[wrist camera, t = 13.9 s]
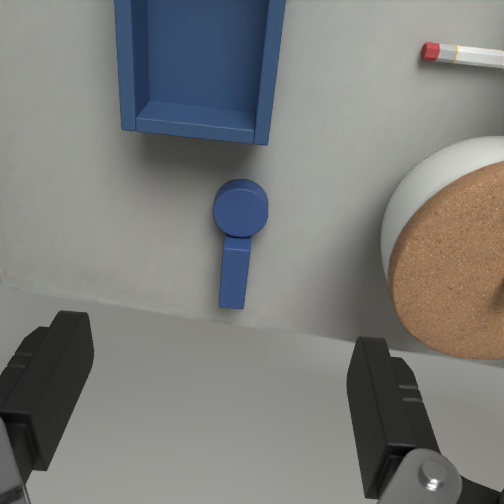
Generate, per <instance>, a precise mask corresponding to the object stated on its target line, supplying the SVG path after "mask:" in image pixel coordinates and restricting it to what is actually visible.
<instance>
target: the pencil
mask: <svg viewBox="0 0 504 504" xmlns="http://www.w3.org/2000/svg"><path fill="white" fill-rule="evenodd" d="M421 59H422V60H428V61H438V62H447V63H456V64H465V65H474V66H484V67H493V68H502V69H504V51H501V50H492V49H483V48H474V47H465V46H455V45H446V44H437V43H428V42H427V43H426V44H425V45H424V46H423V48H422V52H421Z"/></svg>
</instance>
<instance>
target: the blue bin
mask: <svg viewBox="0 0 504 504" xmlns="http://www.w3.org/2000/svg"><path fill="white" fill-rule="evenodd" d="M285 3H286V0H114V6H115V24H116V42H117V59H118V77H119V95H120V113H121V129H122V130H126V131H137V132H144V133H154V134H163V135H172V136H181V137H190V138H199V139H209V140H218V141H227V142H236V143H245V144H253V143H254V144H256V145H265V146H266V145H268V140H269V132H270V124H271V116H272V108H273V100H274V91H275V83H276V75H277V67H278V59H279V51H280V43H281V35H282V27H283V19H284V11H285Z"/></svg>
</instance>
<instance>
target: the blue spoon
mask: <svg viewBox="0 0 504 504" xmlns="http://www.w3.org/2000/svg"><path fill="white" fill-rule="evenodd" d="M213 217H214V220H215V222H216V224H217V225H218V227H219V228H220V229H221V230H222V231H224V232H225V239H224V246H223V256H222V268H221V281H220V294H219V307H225V308H235V309H243V308H244V301H245V293H246V284H247V276H248V267H249V259H250V249H251V235H253V234H255V233H257V232H258V231H260V230H261V229H262V228H263V226H264V225H265V223H266V221H267V218H268V199H267V195H266V193H265V191H264V190H263V189H262V188H261V187H260V186H259V185H258V184H256V183H255V182H252V181H250V180H246V179H236V180H232V181H229V182H227V183H226V184H224V185H223V186H222V187H221V188H220V189H219V191H218V192H217V194H216V198H215V202H214V207H213Z"/></svg>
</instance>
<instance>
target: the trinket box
mask: <svg viewBox="0 0 504 504" xmlns="http://www.w3.org/2000/svg"><path fill="white" fill-rule="evenodd" d="M380 242H381V256H382V264H383V268H384V272H385V275H386V279H387V283H388V290H389V294H390V298H391V302H392V305H393V308H394V310H395V312H396V314H397V316H398V318H399V320H400V322H401V324H402V325H403V326H404V327H405V329H406V330H407V331H408V332H409V333H410V334H411V335H412V336H413V337H415V338H416V339H417V340H418V341H420V342H421V343H423V344H425V345H426V346H428V347H430V348H432V349H434V350H437V351H439V352H442V353H445V354H448V355H452V356H456V357H460V358H468V359H488V360H494V359H502V358H504V136H485V137H477V138H472V139H466V140H463V141H460V142H456V143H453V144H450V145H448V146H446V147H444V148H442V149H440V150H437V151H436V152H434V153H433V154H431V155H429V156H428V157H426V158H425V159H423V160H422V161H421V162H420V163H418V164H417V165H416V166H415V167H414V168H412V169H411V170H410V171H409V173H408V174H407V175H406V176H405V177H404V178H403V179H402V180H401V182H400V183H399V185H398V186H397V188H396V189H395V190H394V192H393V194H392V196H391V198H390V200H389V203H388V205H387V207H386V211H385V214H384V217H383V221H382V228H381V241H380Z"/></svg>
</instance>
